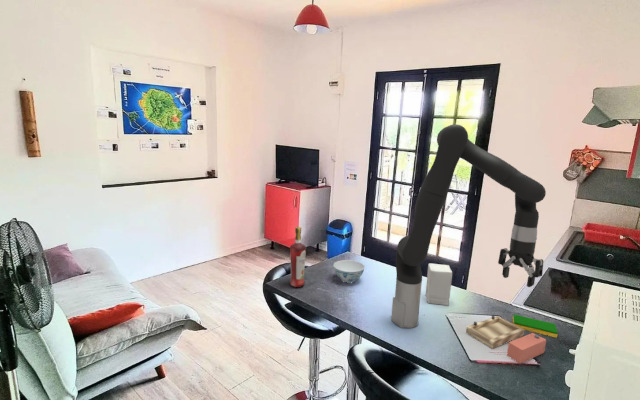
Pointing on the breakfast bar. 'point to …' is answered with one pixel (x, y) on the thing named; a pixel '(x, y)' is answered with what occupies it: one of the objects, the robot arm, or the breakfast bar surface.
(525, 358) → the salmon pink brick
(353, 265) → the chinaware
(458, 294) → the breakfast bar surface
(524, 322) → the dish sponge
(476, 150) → the robot arm
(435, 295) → the supplement box
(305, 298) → the breakfast bar surface
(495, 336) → the wooden tray
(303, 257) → the liquor
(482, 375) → the breakfast bar surface
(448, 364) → the breakfast bar surface
